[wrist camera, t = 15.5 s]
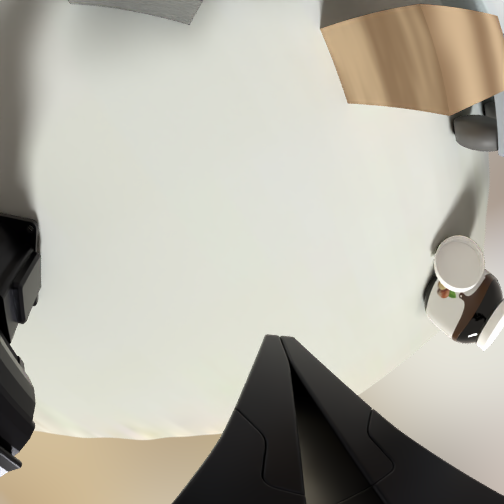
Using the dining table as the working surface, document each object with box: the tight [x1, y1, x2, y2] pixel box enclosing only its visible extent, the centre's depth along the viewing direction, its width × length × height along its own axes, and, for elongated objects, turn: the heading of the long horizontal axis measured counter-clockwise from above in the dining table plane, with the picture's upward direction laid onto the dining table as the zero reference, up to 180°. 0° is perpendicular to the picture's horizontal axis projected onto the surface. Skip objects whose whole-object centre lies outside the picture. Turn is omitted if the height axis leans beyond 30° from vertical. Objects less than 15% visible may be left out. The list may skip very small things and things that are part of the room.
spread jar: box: [425, 235, 504, 351], centre depth 28 cm, size 12×11×12 cm
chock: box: [320, 4, 504, 116], centre depth 13 cm, size 12×6×9 cm, turn 112°
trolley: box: [454, 34, 504, 157], centre depth 17 cm, size 15×12×9 cm
